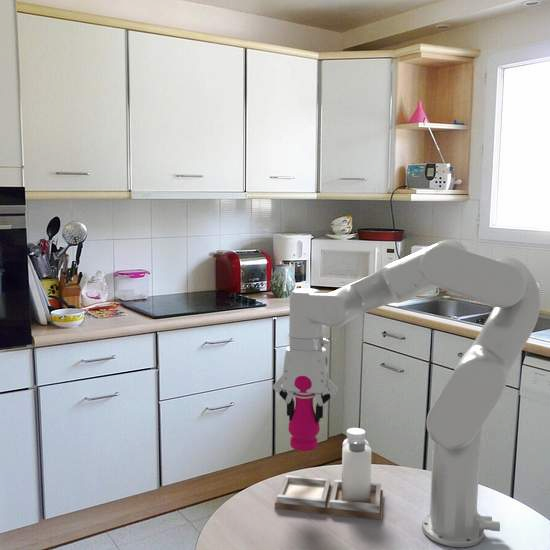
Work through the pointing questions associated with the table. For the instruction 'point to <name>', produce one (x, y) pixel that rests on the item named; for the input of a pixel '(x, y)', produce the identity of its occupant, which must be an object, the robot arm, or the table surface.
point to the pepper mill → (303, 418)
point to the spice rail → (325, 498)
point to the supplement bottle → (355, 435)
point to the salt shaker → (356, 472)
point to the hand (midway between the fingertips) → (304, 418)
